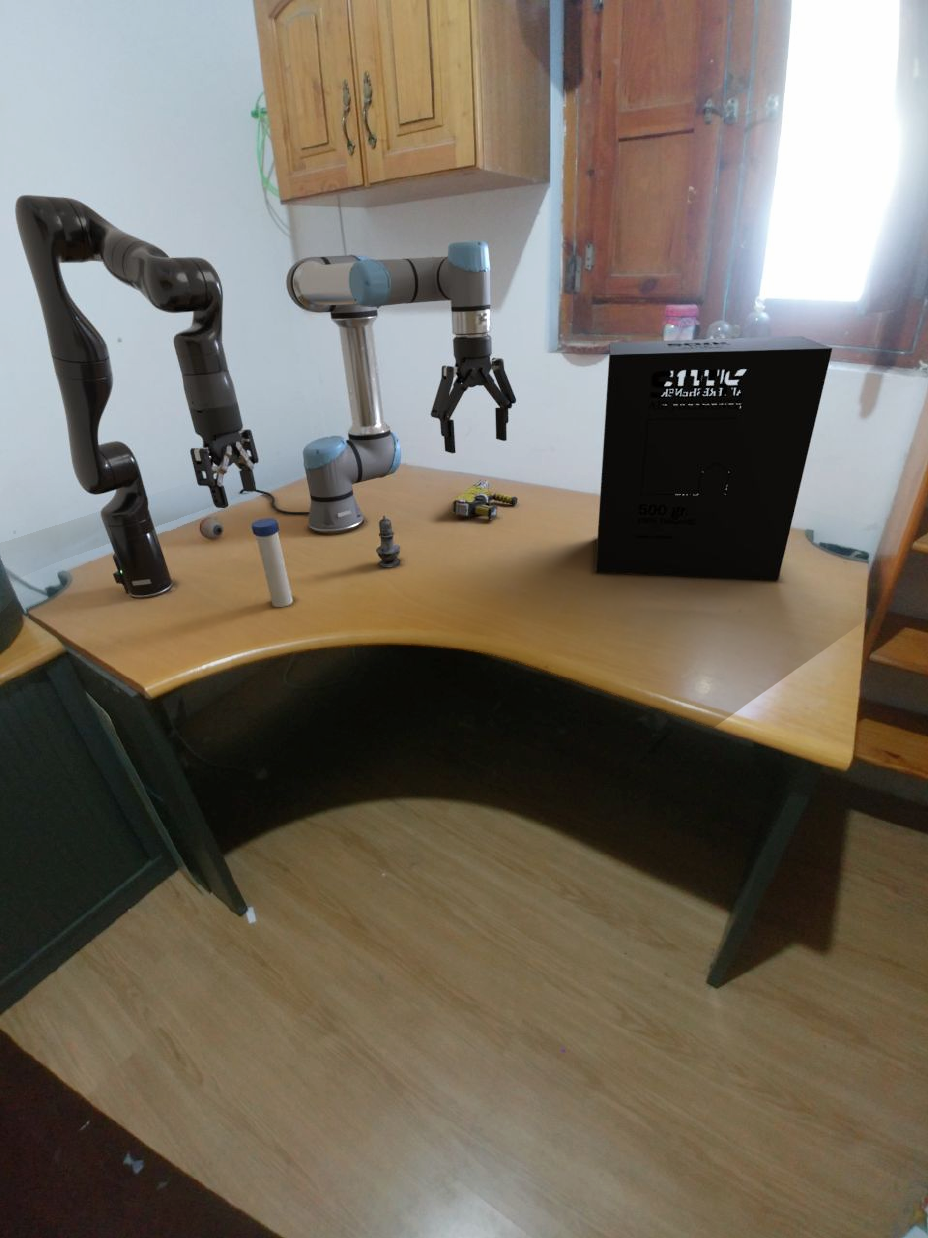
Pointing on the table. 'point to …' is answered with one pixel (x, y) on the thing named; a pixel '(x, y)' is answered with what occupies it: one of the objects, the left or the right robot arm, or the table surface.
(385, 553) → the grey upright turned piece
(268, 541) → the jar
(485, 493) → the toy gun
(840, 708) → the table surface
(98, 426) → the left robot arm
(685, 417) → the cardboard box
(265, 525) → the lid
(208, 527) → the eyeball
